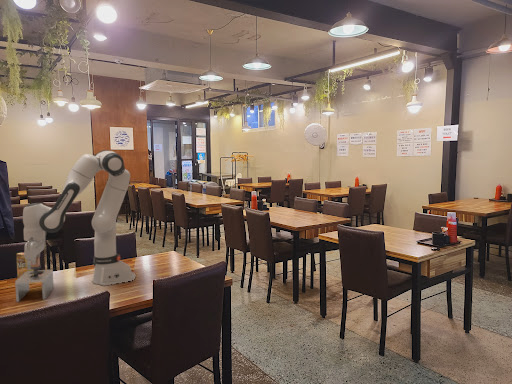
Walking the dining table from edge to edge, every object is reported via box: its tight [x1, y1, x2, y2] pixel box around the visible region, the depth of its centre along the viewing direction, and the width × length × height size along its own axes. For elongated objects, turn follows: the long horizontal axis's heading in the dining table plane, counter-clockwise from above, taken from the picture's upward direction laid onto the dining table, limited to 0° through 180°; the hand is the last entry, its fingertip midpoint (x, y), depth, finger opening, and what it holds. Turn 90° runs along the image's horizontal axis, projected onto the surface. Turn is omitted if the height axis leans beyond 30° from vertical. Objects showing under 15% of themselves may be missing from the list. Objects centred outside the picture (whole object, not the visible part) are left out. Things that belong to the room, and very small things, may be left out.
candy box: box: [16, 251, 34, 279], centre depth 193 cm, size 9×4×15 cm, turn 66°
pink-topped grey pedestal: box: [31, 256, 42, 278], centre depth 176 cm, size 4×4×11 cm
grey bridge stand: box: [14, 269, 54, 303], centre depth 174 cm, size 12×15×10 cm
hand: (35, 262), depth 176 cm, fingers closed on pink-topped grey pedestal, 3 cm apart
